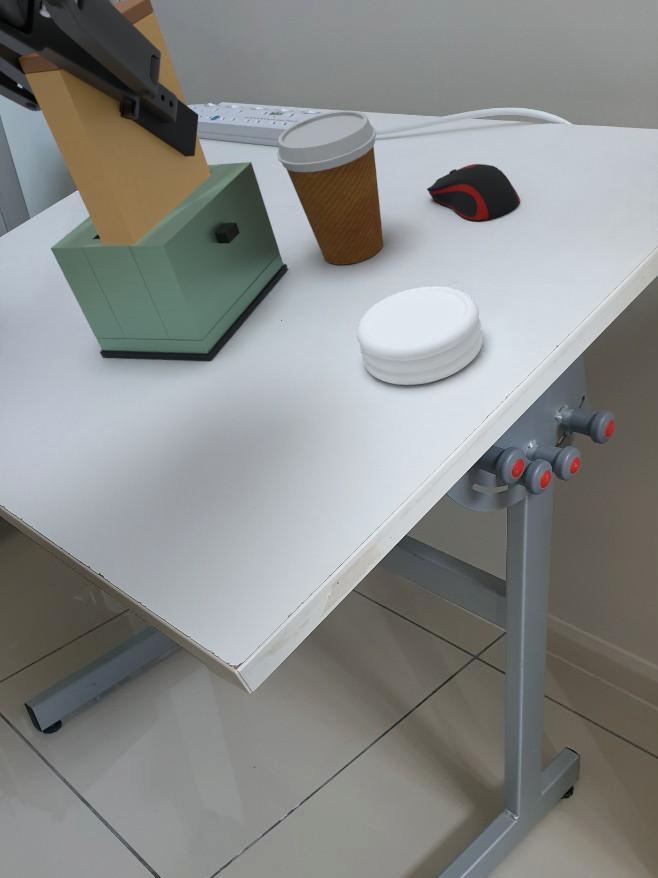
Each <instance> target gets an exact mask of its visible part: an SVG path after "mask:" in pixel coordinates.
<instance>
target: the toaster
mask: <svg viewBox="0 0 658 878" xmlns="http://www.w3.org/2000/svg"><path fill="white" fill-rule="evenodd" d="M208 167H209V170H210V173H211V176H209V177H208V178H207V179H206V180H205V181H204V182H203V183H202V184H201V185H200V186H198V187H197V188H196V189H195V190H194V191H193V192H192V193H191V194H190V195H189V196H187V197H186V198H185V199H184V200H183V201H182V202H181V203H180V204H179V205H178V206H176V207H175V208H174V209H173V210H172V211H171V212H170V213H169V214H168V215H166V216H165V217H164V218H163V219H162V220H161V221H160V222H159V223H158V224H157V225H155V226H154V227H153V228H152V229H151V230H150V231H149V232H148V233H147V234H146V235H144V236H143V237H142V238H141V239H140V240H139V241H138V242H137V243H136V244H134V245H103V243H102V241H101V239H100V237H99V235H98V233H97V230H96V228H95V226H94V224H93V222H92V220H91V217H90V215H88V217H86V219H84V220H83V221H82V222H80V223H79V224H78V225H77V226H75V228H73V229H72V230H70V232H69V233H67V234H66V235H65V236H63V237H62V238H61V239H60V240H58V242H56V243H55V244H54V245H52V246H51V247H50V250H51V252H52V254H53V256H54V258H55V260H56V262H57V264H58V266H59V268H60V270H61V272H62V274H63V277H64V278H65V280H66V281H67V284H68V286H69V288H70V290H71V292H72V294H73V295H74V298H75V300H76V301H77V303H78V305H79V307H80V310H81V311H82V313H83V315H84V317H85V320H86V321H87V324H88V325H89V327H90V329H91V332H92V333H93V335H94V337H95V338H96V340H97V343H98V345H99V347H100V349H101V350H100V351H99V354H100V356H101V357H102V358H117V359H118V358H119V359H145V360H146V359H149V360H172V361H173V360H174V361H175V360H177V361H178V360H179V361H202V362H203V361H205V362H211V361H212V360H213V359H214V357H216V355H217V354H218V353H219V352H220V351H221V349H222V348H223V347H224V346H225V345H226V344H227V342H229V340H230V339H231V338H232V337H233V335H234V334H235V333H236V332H237V330H238V329H239V328H240V327H241V326H242V324H244V322H245V321H246V320H247V319H248V317H250V315H251V314H252V313H253V311H255V309H256V308H257V307H258V306H259V304H260V303H262V301H263V300H264V299H265V298H266V296H267V295H268V294H269V293H270V291H271V290H272V289H273V288H274V287H275V285H276V284H278V282H279V281H280V279H281V278H282V277H283V276H284V274H286V272H287V271H288V270H289V267H288V265H287V263H284V262H283V258H282V255H281V253H280V249H279V245H278V242H277V239H276V236H275V233H274V229H273V226H272V223H271V221H270V216H269V214H268V211H267V207H266V204H265V201H264V198H263V195H262V191H261V188H260V185H259V181H258V179H257V176H256V173H255V170H254V167H253V163H252V162H251V161H247V162H234V163H221V164H220V163H218V164H208Z"/></svg>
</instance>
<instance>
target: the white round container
mask: <svg viewBox="0 0 658 878" xmlns="http://www.w3.org/2000/svg"><path fill="white" fill-rule="evenodd" d="M479 316H480V310H479V306H478V304H477V303H476V301H475V300H474V298H473V297H472V296H470V295H469V294H468V293H466V292H464V291H462V290H459V289H456V288H454V287H449V286H439V285H431V286H429V285H428V286H420V287H414V288H409V289H405V290H402V291H399V292H396V293H393V294H391V295H389V296H387V297H385V298H383V299H381V300H379V301H378V302H376V303H375V304H373V305H372V306H371V307H370V308H369V309H368V310H366V312H365V313H364V314H363V315H362V316H361V318H360V319H359V321H358V323H357V326H356V333H355V334H356V339H357V342H358V344H359V351H360V354H361V355H362V363H363V365H364V367H365V368H366V370H367V371H368V372H369V374H370V375H371V376H373V377H374V378H376V379H378V380H380V381H383V382H386V383H389V384H394V385H401V386H416V385H423V384H430V383H433V382H436V381H440V380H442V379H445V378H447V377H450V376H452V375H454V374H456V373H458V372H460V371H461V370H462V369H464V368H465V367H466V366H467V365H469V364H470V363H472V361H473V360H475V358H476V357H477V355H478V354H479V352H480V350H481V348H482V344H483V340H484V339H483V338H484V337H483V336H484V335H483V331H482V329H481V328H482V327H481V326H482V323H481V319H480V317H479Z"/></svg>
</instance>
